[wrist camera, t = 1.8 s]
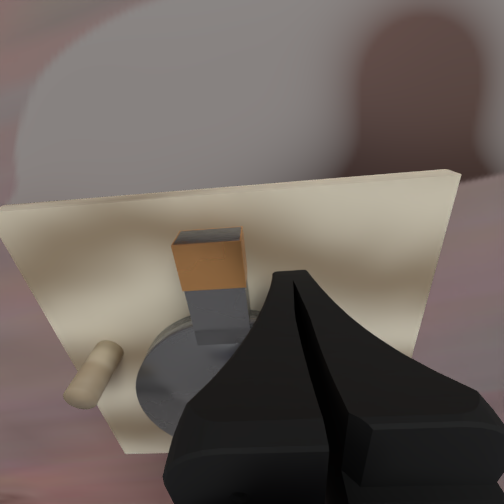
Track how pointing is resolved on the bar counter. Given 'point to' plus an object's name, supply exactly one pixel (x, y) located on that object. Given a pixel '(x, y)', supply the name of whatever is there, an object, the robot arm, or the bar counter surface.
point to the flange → (198, 323)
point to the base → (258, 267)
